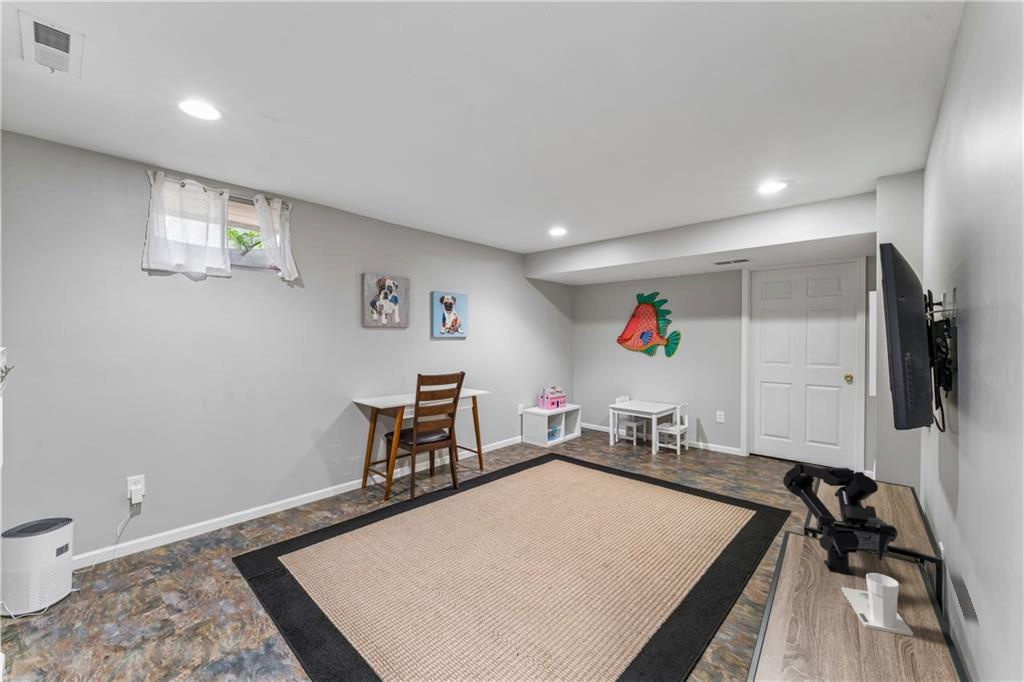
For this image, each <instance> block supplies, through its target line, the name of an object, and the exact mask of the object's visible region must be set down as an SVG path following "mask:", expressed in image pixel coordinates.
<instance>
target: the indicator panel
mask: <svg viewBox="0 0 1024 682" xmlns="http://www.w3.org/2000/svg"><path fill="white" fill-rule="evenodd" d="M841 591H842V593H843V592H844V593H843V595H845V597H847V598H846V599H847V601H848V600H849V601H848V602H849V604H850V603H851V604H850V605H852V609H853V610H854V612H855V614H856V615H857V617H858V618H859V620H860V622H861V623H862V625H863V627H864V628H867V629H872V630H877V631H883V632H888V633H894V634H899V635H905V636H911V637H914V632H913V631H912V630H911V628H910V627H909V626H908V624H907V623H906V622H905V620H904V619H903V618H902V617H901V615H900V614H899V613H898V612H897V616H896V626H894V627H893V628H892V627H885V626H882V625H880V624H877V623H875V622H874V621H873V620H872V619H871V618H870V608H869V597H868V590H861V589H855V588H850V587H849V588H848V587H843V586H841Z"/></svg>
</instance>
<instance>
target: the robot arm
mask: <svg viewBox="0 0 1024 682" xmlns="http://www.w3.org/2000/svg"><path fill="white" fill-rule="evenodd" d="M815 478H817V479H820V480H822V482H823V483H824V484H827V485H828V486H830V487H839V488H837V490H836V492H835V494H834V496H835V497H837V499H838V504H839V510H840V511H839V512H840V516H841V520H837V519H836V518H835V516H834V515H833V514H832V513H831V511H830V510H829V508H827V507H826V505H825V504H824V503H823V502H822V500H821V499H820V498H819V497H818V496H817V494H816V493H815V491H813V485H814V482H815ZM782 480H783V481H782V482H783V485H784V487H785V488H786V489H787V490H788V491H789V492H790V493H791V494H792V495H794V496H797V497H798V498H800V500H802V502H803V504H804V505H805V506H806V508H807V509H808V510H809V512H810V513H811V514H812V515H813V517H814V518H815V520H816V522H815V523H816V526H815V527H816V530H817V531H818V532H822V536H821V537H820V538H819V539H818V541H819V546H820V547H821V548H822V549H824V550H825V551H826V555H827V557H826V558H827V559H823V563H824V564H825V566H826V568H827V570H828V571H829V572H833V573H842V574H848V575H854V571H853V570H852V568H850V553H854V554H856V553H857V552H858V550H857V548H858V545H859V539H858V537H857V535H856V534H855V533H854V531H857V532H863V533H870V534H876V538H877V540H876V546H877V552H876V553H877V558H878V561H879V562H882V560H883V555H884V553H883V551H884V546H885V544H888V545H889V544H890V543H894V542H895V541H896V539H897V538H898V535H899V534H898V530H897V528H896V527H895V526H894V525H891V524H887V525H886V524H879V523H878V525H877V527H869V526H866V524H868V520H869V518H876V517H877V513H876V508H875V506H872V505H866V506H865V507H864V506H863V503H862V501H866V500H867V499H868V498H870V497H872V496H873V494H875V493H876V492H877V491H878V489H879V487H878V483H877V482H876V481H874V479H872V478H871V477H869V476H867V475H865V473H864V472H863V471H856V472H852V470H851V469H850V468H848V467H826V466H821V465H817V464H813V463H810V462H797V463H795V465H794V467H792V468H791V469H789V470H788V471H786V473H785V475H784V476H783V479H782Z"/></svg>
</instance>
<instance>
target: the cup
mask: <svg viewBox="0 0 1024 682" xmlns="http://www.w3.org/2000/svg"><path fill="white" fill-rule="evenodd" d="M865 579H866V588H867V591H868V597H869V608H870V618H871V619H872V620H873V621H874V622H875V623H877V624H880V625H882V626H885V627H892V628H893V627H894V626H896V616H897V613H898V612H897V611H898V597H899V587H900V586H899V585H900V584H899V582H898V580H896V579H895V578H893V577H890V576H888V575H885V574H881V573H876V572H870V573H866V575H865Z"/></svg>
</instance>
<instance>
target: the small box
mask: <svg viewBox="0 0 1024 682" xmlns="http://www.w3.org/2000/svg"><path fill="white" fill-rule="evenodd" d="M878 523H879V524H886V525H888V523H887V522H885V521H884V520H883V519H882V518H879V517H878V516H876V518H869V520H868V524H866V526H869V527H877V525H878ZM854 533H855V534H856V535H857V537H858V539H859V545H858V548H857V551H863V552H874V553H877V546H876V540H877V538H876V534H870V533H863V532H857V531H854ZM888 547H889V544H885V546H884V551H883V554H884V553H885V554H888V553H889V548H888Z"/></svg>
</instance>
